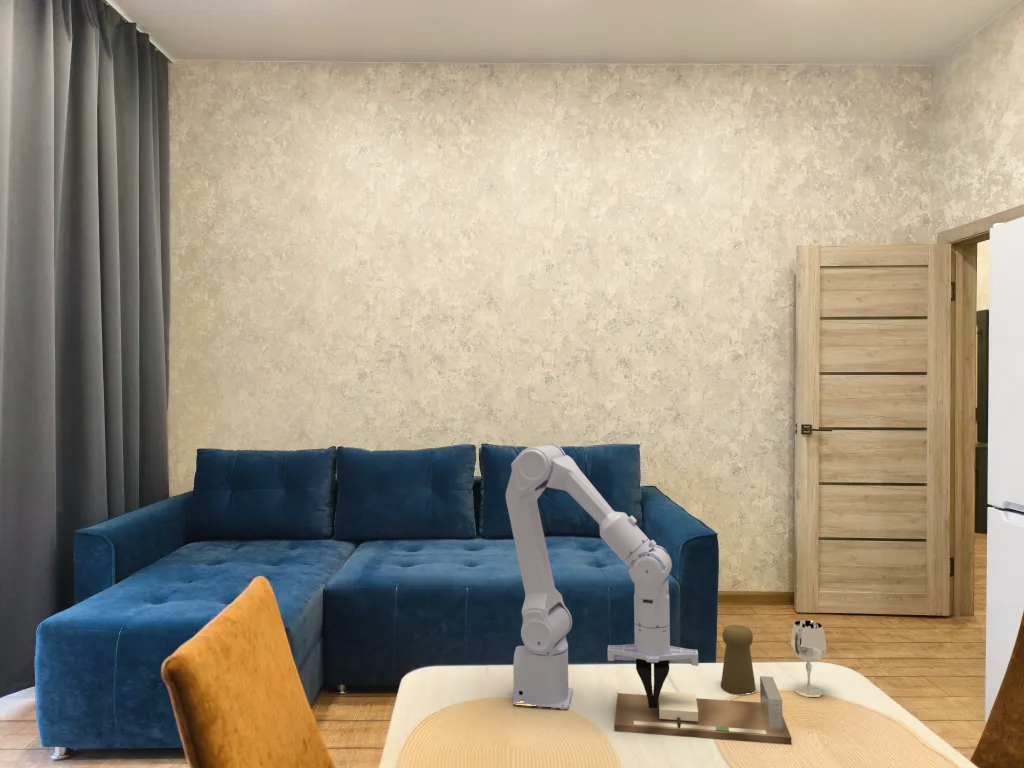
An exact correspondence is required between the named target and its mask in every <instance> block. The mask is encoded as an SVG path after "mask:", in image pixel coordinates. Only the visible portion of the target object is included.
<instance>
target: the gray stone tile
mask: <svg viewBox="0 0 1024 768" xmlns="http://www.w3.org/2000/svg"><path fill="white" fill-rule="evenodd" d="M759 682H760V683H759V689H760V690H759V691H760V692H759V693H760V694H759V697H760V698H759V700H760V706H761V709H762V712H763V715H764V718H765V721H766V724H767V727H768V730H769V732H783V722H782V715H783V698H782V696H781V693H780V691H779V688H778V686H777V684H776V682H775V679H774V677H773V676H766V675H765V676H763V675H760V676H759Z"/></svg>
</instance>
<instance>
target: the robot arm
mask: <svg viewBox="0 0 1024 768" xmlns="http://www.w3.org/2000/svg"><path fill="white" fill-rule="evenodd" d="M510 466H511V473H510V477H509V480H508V483H507V487H506V492H505V502H506V506H507V511H508V515H509V520H510V527H511V531H512V535H513V540H514V545H515V551H516V555H517V561H518V565H519V569H520V575H521V579H522V583H523V584H522V585H523V590H524V594H525V597H524V602H523V605H522V607H521V616H522V624H521V629H520V637H521V640H522V643H523V645H518V646H516V647H515V650H514V655H513V665H512V667H513V673H512V674H513V676H512V677H513V678H512V679H513V680H512V681H513V701H512V704H513V703H514V704H531V705H536V706H544V707H551V708H550V709H556V708H560V710H568V709H569V707H570V703H571V699H572V695H573V692H574V689H573V687H569V645H568V644H569V643H568V641H567V635H568V634H569V632H570V631H571V630H572V626H573V619H572V615H571V613H570V610H569V609H568V608H567V607H566V605H565V602H564V599H563V595H562V594H561V592H559V591H558V589H556V587H555V586H556V585H555V581H554V575H553V572H552V567H551V562H550V558H549V557H550V556H549V553H548V552H549V551H548V549H547V543H546V539H545V533H544V529H543V525H542V523H543V522H542V519H541V514H540V509H539V506H538V505H539V503H538V499H539V498H540V496H541V495H542V494H543V492H544V491H545V490H546V489H547V488H550V489H555V490H561V491H565V492H567V493H568V494H569V496H571V497H572V498H573V499H574V500H575V501H576V502H577V503H578V504H579V506H580V507H582V508H583V509H584V510H585V511H586V513H588V514H589V515H590V516H591V518H593V520H594V521H595V522H597V524H598V527H599V536H600V538H601V539H603V541H604V542H605V543H606V545H608V546H609V548H610V549H611V550H612V551H613V552H614V553H615V554H616V555H617V557H618V558H619V559H620V560H621V562H623V564H624V565H626V566H627V567H628V568H629V569H628V574H629V577H630V579H631V581H632V582H633V583H634V594H633V609H634V610H633V612H634V613H633V615H634V616H633V617H634V618H633V619H634V620H633V621H634V622H633V623H634V625H633V626H634V643H632V644H629V643H628V644H619V645H618V644H616V645H615V644H613V645H612V644H611V645H610V644H608V645H607V661H608V662H613V661H615V660H617V661H634V662H635V669H636V671H637V674H638V677H639V678H640V681H641V684H642V685H643V688H644V691H645V695H647V698H648V704H649V708H658V699H659V695H660V691H662V689H663V685H664V684H665V683H664V682H665V681H666V679H667V677H668V675H669V671H670V664H688V665H691V666H695V667H699V651H698V649H693V648H691V649H690V648H684V647H678V646H673V645H671V634H670V633H671V630H670V627H671V626H670V625H671V624H670V622H671V619H670V617H671V616H670V611H671V610H670V593H669V590H670V589H669V579H668V578H667V577H668V576H669V575H670V573H671V571H672V568H673V562H672V558H671V556H670V554H669V553H668V552H667V549H666V548H664V547H663V546H661V545H657V542H656V541H655V540H654V539H652V540H650V539H649V538H648V537H647V535H646V534H645V533H644V531H642V529H640V527H639V526H638V525H637V519H636V518H635V517H634V516H633V515H630V516H628V515H627V513H626V512H623V511H622V512H621V511H615V510H614V509H613V508H612V507H611V506H610V504H609V503H608V502H607V501H606V499H604V497H603V496H602V494H601V493H600V492H599V491H598V490H597V488H596V487H595V486H594V485H593V484H592V483H591V481H590V480H589V479H588V478H587V476H586V475H585V474H584V472H582V471H581V469H580V468H579V466H578V465H577V464H576V461H574V459H573V458H572V457H571V456H569V454H568V455H566V453H565V451H564V450H563V448H562V447H561V446H559V445H557V444H555V443H545V444H542V445H539V446H532V447H531V446H530V447H527V448H525V449H523V450H522V451H520V452H519V454H517V456H516V458H514V460H513V461H512V462H511V464H510ZM652 663H653V682H652ZM520 701H524V702H523V703H517V702H520Z"/></svg>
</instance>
